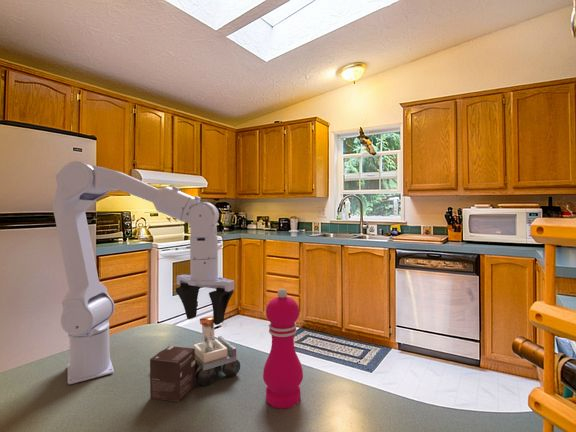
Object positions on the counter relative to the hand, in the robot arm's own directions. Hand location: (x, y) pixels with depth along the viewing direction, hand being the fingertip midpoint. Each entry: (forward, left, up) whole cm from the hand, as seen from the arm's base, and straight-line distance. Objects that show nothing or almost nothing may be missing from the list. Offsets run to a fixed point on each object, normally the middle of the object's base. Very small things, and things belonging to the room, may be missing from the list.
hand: (204, 320), depth 69 cm
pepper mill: (+19, +8, -11) cm, 23 cm away
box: (+5, -8, -11) cm, 14 cm away
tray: (+3, 0, -6) cm, 7 cm away
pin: (+3, 0, -6) cm, 6 cm away
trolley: (+3, 0, -10) cm, 11 cm away
